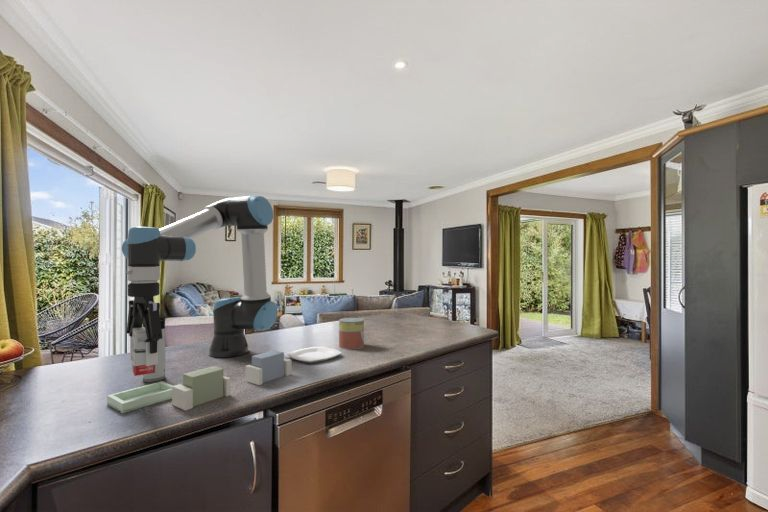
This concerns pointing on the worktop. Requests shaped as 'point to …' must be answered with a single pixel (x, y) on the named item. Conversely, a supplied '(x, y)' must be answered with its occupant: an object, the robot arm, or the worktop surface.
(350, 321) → the canned food
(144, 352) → the ink box
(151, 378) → the travel mug
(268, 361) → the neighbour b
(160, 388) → the tray
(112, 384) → the worktop surface
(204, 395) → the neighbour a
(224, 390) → the holder
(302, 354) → the plate
